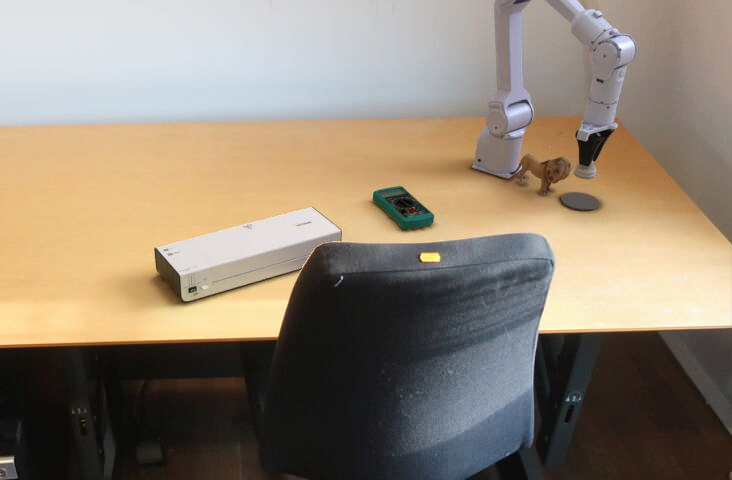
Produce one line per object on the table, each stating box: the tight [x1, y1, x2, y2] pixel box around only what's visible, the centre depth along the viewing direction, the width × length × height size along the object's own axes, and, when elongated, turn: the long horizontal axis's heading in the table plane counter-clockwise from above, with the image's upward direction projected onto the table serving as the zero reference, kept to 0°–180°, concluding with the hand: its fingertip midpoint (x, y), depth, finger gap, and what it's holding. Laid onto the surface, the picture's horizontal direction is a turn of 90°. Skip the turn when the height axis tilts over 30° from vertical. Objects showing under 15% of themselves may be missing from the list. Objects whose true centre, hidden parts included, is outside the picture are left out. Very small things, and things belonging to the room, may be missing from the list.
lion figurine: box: [509, 153, 574, 197], centre depth 189 cm, size 15×5×9 cm, turn 41°
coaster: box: [560, 191, 600, 212], centre depth 186 cm, size 8×8×1 cm
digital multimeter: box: [372, 185, 435, 231], centre depth 180 cm, size 7×15×3 cm, turn 21°
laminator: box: [153, 206, 343, 303], centre depth 162 cm, size 34×12×6 cm, turn 119°
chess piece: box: [573, 132, 600, 181], centre depth 178 cm, size 4×4×10 cm
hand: (587, 162), depth 179 cm, fingers closed on chess piece, 3 cm apart
